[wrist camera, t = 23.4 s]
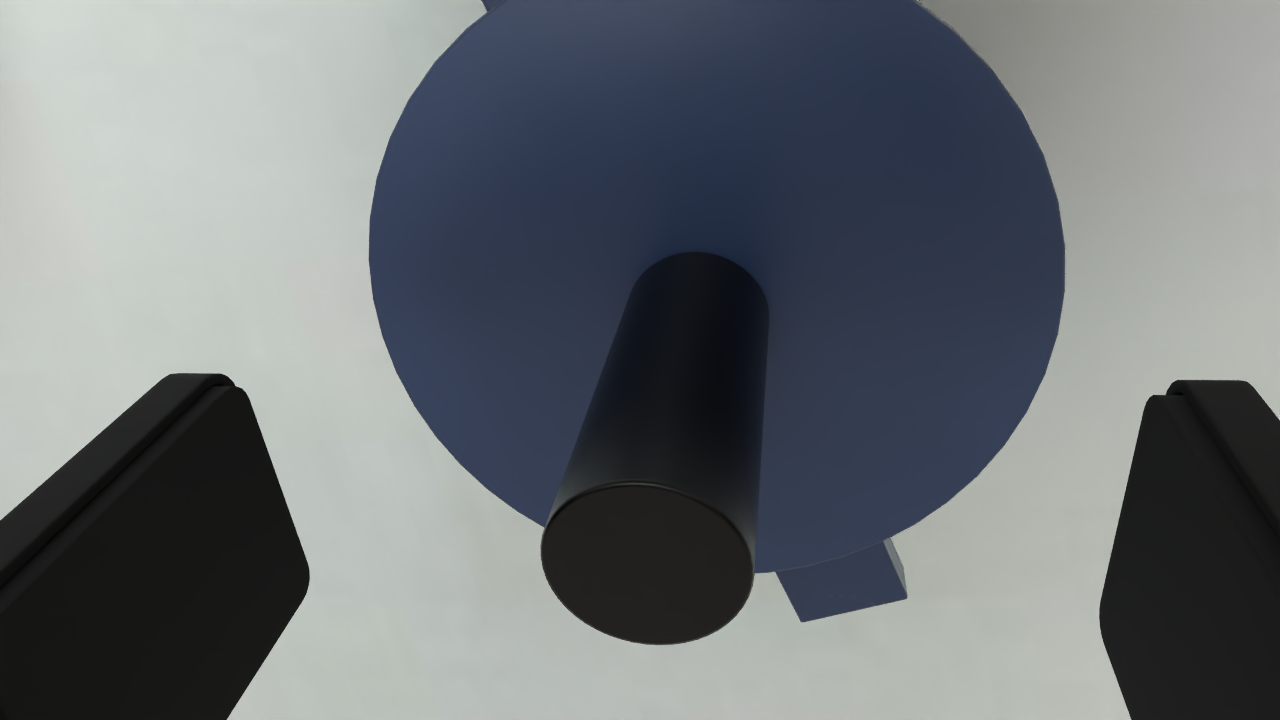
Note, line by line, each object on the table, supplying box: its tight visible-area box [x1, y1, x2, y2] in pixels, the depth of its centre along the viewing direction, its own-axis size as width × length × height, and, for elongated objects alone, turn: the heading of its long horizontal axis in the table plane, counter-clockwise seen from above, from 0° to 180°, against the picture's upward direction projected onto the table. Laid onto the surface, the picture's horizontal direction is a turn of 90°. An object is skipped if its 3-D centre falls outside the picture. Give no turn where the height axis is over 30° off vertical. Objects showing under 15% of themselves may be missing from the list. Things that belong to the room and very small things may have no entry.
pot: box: [482, 0, 907, 622], centre depth 20 cm, size 11×16×10 cm, turn 26°
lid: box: [369, 0, 1065, 645], centre depth 13 cm, size 12×12×7 cm
